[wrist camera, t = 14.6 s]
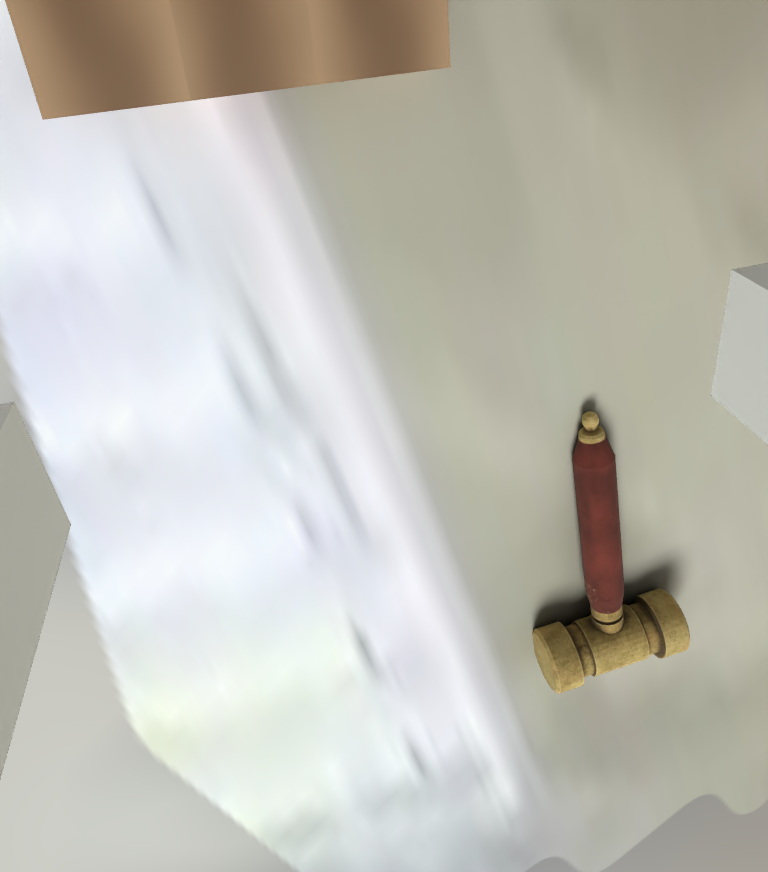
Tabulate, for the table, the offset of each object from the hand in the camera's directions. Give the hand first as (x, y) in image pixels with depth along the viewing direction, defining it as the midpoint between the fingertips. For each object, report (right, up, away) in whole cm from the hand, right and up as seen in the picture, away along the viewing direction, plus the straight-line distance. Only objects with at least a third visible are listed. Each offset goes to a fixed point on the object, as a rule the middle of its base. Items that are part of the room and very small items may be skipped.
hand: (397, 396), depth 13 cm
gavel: (+14, -7, +36) cm, 39 cm away
